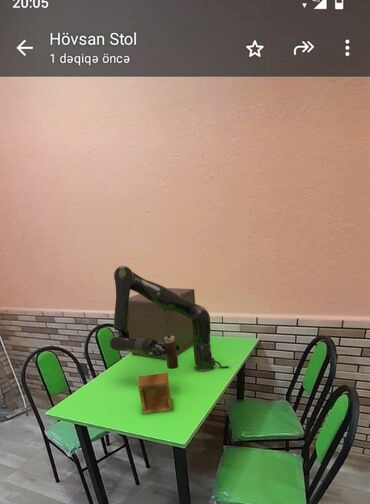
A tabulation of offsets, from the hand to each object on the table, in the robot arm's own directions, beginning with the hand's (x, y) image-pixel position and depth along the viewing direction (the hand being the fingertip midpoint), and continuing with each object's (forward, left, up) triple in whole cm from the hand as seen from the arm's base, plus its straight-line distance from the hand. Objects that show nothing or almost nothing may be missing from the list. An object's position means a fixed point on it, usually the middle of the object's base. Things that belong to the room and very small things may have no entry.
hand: (175, 350), depth 153 cm
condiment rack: (+11, +12, -22) cm, 27 cm away
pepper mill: (+2, -1, -9) cm, 9 cm away
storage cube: (+5, -63, -22) cm, 67 cm away
